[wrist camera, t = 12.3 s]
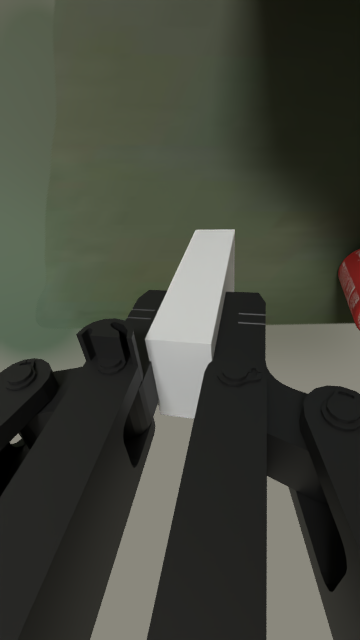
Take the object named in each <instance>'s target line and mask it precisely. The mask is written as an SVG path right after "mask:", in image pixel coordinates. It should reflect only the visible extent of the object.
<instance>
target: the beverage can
mask: <svg viewBox="0 0 360 640" xmlns="http://www.w3.org/2000/svg"><path fill="white" fill-rule="evenodd" d="M338 277H339V281H340V283H341V286H342V289H343V292H344V294H345V297H346V300H347V303H348V305H349V308H350V311H351V313H352V316H353V319H354V322H355V324H356V326H357V328H358V329H359V330H360V249H358V250H356V251H354V252H353V253H351V254H350V255H348V256H347V257H346V258H345V259H344V260H343V262H342V263H341V265H340V267H339V271H338Z"/></svg>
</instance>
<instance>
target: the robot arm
mask: <svg viewBox="0 0 360 640" xmlns="http://www.w3.org/2000/svg"><path fill="white" fill-rule="evenodd" d="M234 259H235V230H196V231H195V233H194V235H193V237H192V239H191V241H190V243H189V246H188V248H187V250H186V252H185V254H184V256H183V258H182V261H181V263H180V265H179V267H178V269H177V271H176V273H175V276H174V278H173V280H172V282H171V284H170V286H169V289H168V291H161V290H149V291H147V292H146V293H145V294H143V295H142V296H141V297H139V298H138V300H137V302H136V303H135V305H134V307H133V310H131V312H130V314H129V315H128V318H127V319H126V321H124V320H120V319H115V318H114V319H103V320H99V321H96V322H93V323H91V324H89V325H87V326H86V327H84V328H83V329H82V330H81V331H79V332H78V334H77V337H78V340H79V342H80V345H81V348H82V351H83V353H84V356H85V359H86V362H85V364H84V366H83V367H79V368H74V369H67V370H61V371H55V372H53V371H52V369H51V367H50V365H49V363H47V362H46V361H44V360H42V359H35V358H34V359H27V360H23V361H20V362H17V363H15V364H12V365H11V366H9V367H8V368H7V369H5V370H3V371H2V372H1V373H0V640H90V638H91V634H92V631H93V628H94V625H95V622H96V618H97V615H98V612H99V609H100V606H101V602H102V599H103V596H104V593H105V590H106V586H107V583H108V580H109V577H110V573H111V570H112V567H113V564H114V561H115V558H116V554H117V551H118V548H119V545H120V541H121V538H122V535H123V532H124V529H125V526H126V522H127V519H128V516H129V513H130V509H131V506H132V503H133V500H134V497H135V494H136V490H137V487H138V484H139V481H140V477H141V474H142V471H143V468H144V465H145V461H146V458H147V455H148V452H149V449H150V446H151V442H152V439H153V436H154V432H155V422H154V418H153V416H154V413H155V410H156V407H157V404H158V405H159V410H160V414H163V415H170V416H177V417H185V418H193V419H194V423H193V427H192V432H191V437H190V441H189V446H188V451H187V455H186V460H185V465H184V469H183V474H182V478H181V483H180V488H179V493H178V497H177V502H176V506H175V511H174V516H173V520H172V525H171V530H170V534H169V539H168V544H167V548H166V553H165V557H164V562H163V567H162V572H161V576H160V581H159V585H158V590H157V595H156V600H155V604H154V609H153V613H152V618H151V623H150V627H149V632H148V636H147V640H266V559H267V557H266V552H267V550H266V549H267V548H266V546H267V543H266V542H267V541H266V540H267V514H266V513H267V476H269V477H271V478H273V479H275V480H277V481H279V482H280V483H282V484H284V485H287V486H288V487H289V490H290V493H291V497H292V500H293V503H294V507H295V510H296V514H297V517H298V520H299V524H300V527H301V531H302V534H303V538H304V541H305V544H306V548H307V551H308V555H309V558H310V561H311V565H312V568H313V572H314V575H315V579H316V582H317V585H318V589H319V592H320V595H321V599H322V602H323V606H324V609H325V612H326V616H327V619H328V623H329V626H330V629H331V633H332V636H333V640H360V394H359V393H357V392H356V391H353V390H350V389H347V388H344V387H340V386H339V387H338V386H324V387H320V388H316V389H314V390H313V391H312V392H310V393H309V394H306V393H303V392H301V391H298V390H295V389H292V388H290V387H288V386H286V385H284V384H282V383H280V382H279V381H278V380H276V379H275V378H274V377H273V376H272V375H271V374H270V372H269V370H268V369H267V367H266V361H265V309H266V303H265V301H264V300H263V298H262V297H261V296H260V294H259V293H248V292H234ZM18 433H19V435H20V436H21V437H22V439H21V440H20V441H18V442H17V443H14V444H10V441H11V440H12V439H13V438H14V437H15V436H16V435H17V434H18Z"/></svg>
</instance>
